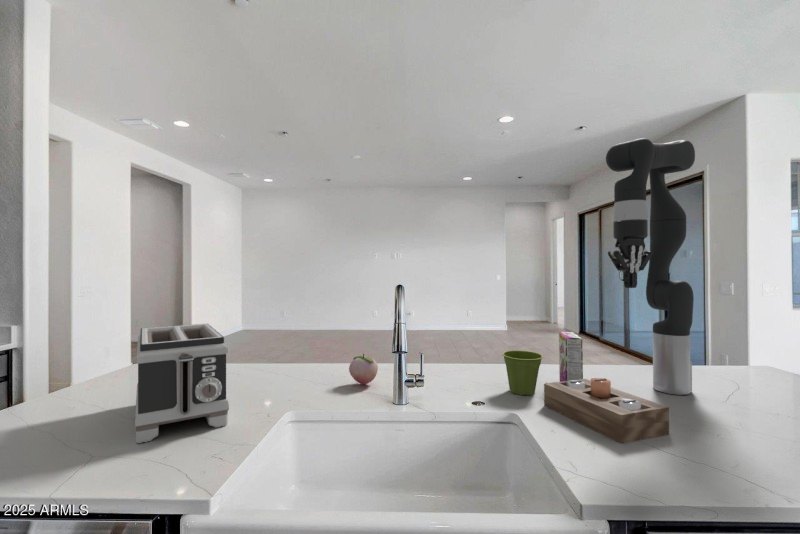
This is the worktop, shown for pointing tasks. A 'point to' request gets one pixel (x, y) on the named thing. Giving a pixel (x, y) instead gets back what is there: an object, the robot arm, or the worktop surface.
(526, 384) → the plant pot
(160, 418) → the toaster
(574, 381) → the metal knob
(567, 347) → the candy bar box
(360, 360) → the decorative fruit
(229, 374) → the worktop surface
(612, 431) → the console
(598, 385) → the terracotta knob
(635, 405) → the metal knob
